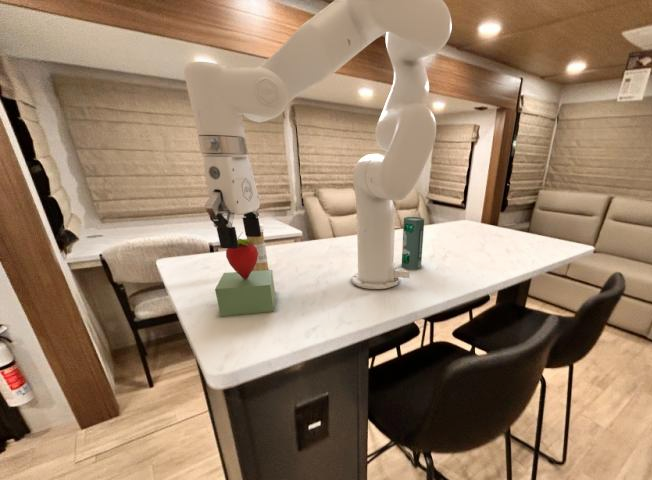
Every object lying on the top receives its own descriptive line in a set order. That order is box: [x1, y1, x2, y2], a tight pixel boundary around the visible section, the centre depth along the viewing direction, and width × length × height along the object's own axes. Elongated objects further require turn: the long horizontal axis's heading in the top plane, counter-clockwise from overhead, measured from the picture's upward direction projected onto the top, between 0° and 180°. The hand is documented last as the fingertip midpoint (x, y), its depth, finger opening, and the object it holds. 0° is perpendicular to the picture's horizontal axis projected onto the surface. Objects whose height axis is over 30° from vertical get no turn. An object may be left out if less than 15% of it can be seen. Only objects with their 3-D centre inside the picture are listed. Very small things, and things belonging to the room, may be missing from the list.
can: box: [401, 216, 425, 271], centre depth 95 cm, size 6×6×15 cm
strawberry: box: [225, 231, 258, 279], centre depth 64 cm, size 6×8×10 cm
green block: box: [214, 269, 276, 317], centre depth 67 cm, size 10×10×6 cm
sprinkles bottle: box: [246, 223, 270, 271], centre depth 85 cm, size 5×5×14 cm
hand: (242, 241), depth 63 cm, fingers open, 9 cm apart
